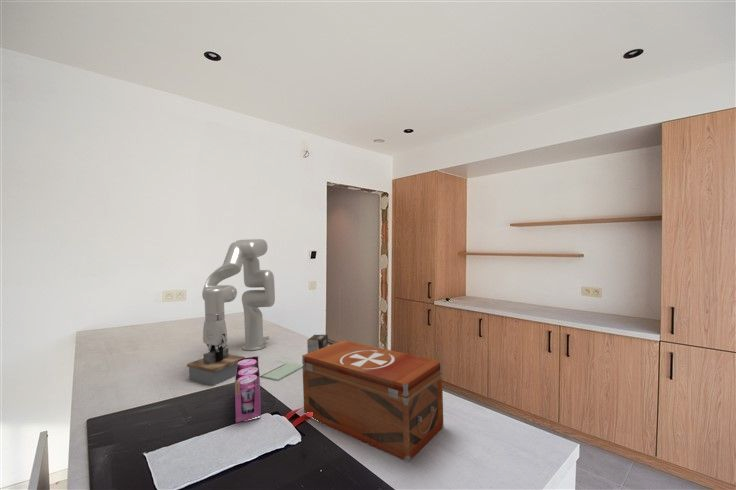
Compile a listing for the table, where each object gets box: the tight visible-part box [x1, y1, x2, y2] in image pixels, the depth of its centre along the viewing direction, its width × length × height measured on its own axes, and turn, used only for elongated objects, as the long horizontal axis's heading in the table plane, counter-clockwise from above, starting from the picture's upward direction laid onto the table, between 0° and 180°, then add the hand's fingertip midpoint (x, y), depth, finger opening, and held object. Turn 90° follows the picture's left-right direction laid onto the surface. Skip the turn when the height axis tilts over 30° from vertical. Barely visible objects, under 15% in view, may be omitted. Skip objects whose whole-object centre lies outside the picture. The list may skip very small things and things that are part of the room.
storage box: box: [188, 363, 237, 387], centre depth 144 cm, size 15×15×6 cm
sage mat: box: [260, 360, 303, 382], centre depth 150 cm, size 17×17×1 cm
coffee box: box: [306, 334, 329, 353], centre depth 145 cm, size 9×6×16 cm
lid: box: [186, 347, 246, 373], centre depth 144 cm, size 16×16×6 cm
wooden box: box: [301, 339, 445, 463], centre depth 106 cm, size 20×41×20 cm, turn 51°
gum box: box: [234, 356, 262, 424], centre depth 118 cm, size 24×8×14 cm, turn 19°
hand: (216, 359), depth 144 cm, fingers closed on lid, 3 cm apart
